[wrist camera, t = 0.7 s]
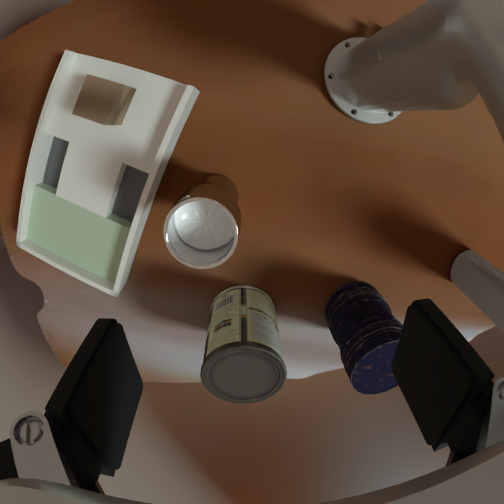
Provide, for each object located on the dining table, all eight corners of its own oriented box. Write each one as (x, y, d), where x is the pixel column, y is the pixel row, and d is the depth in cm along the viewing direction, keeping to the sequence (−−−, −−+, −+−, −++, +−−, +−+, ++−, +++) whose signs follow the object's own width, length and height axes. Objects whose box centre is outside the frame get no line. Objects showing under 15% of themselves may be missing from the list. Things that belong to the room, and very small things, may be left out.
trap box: (80, 55, 30) (65, 49, 26) (199, 91, 34) (194, 86, 30) (31, 235, 40) (16, 245, 36) (126, 282, 44) (116, 297, 40)
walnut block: (105, 79, 30) (87, 74, 25) (136, 88, 31) (121, 83, 26) (90, 114, 32) (71, 113, 27) (121, 125, 33) (104, 125, 28)
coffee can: (252, 347, 49) (256, 412, 36) (198, 320, 47) (186, 385, 34) (289, 304, 46) (304, 367, 33) (232, 272, 44) (227, 332, 31)
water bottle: (478, 269, 45) (561, 343, 22) (450, 291, 47) (529, 377, 24) (471, 231, 42) (571, 301, 19) (441, 254, 44) (537, 339, 21)
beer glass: (185, 175, 38) (153, 201, 24) (238, 167, 38) (235, 189, 24) (194, 224, 41) (169, 275, 27) (244, 218, 41) (245, 267, 27)
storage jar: (357, 337, 49) (386, 399, 36) (312, 320, 48) (334, 388, 34) (390, 293, 46) (432, 349, 32) (346, 271, 44) (384, 330, 30)
